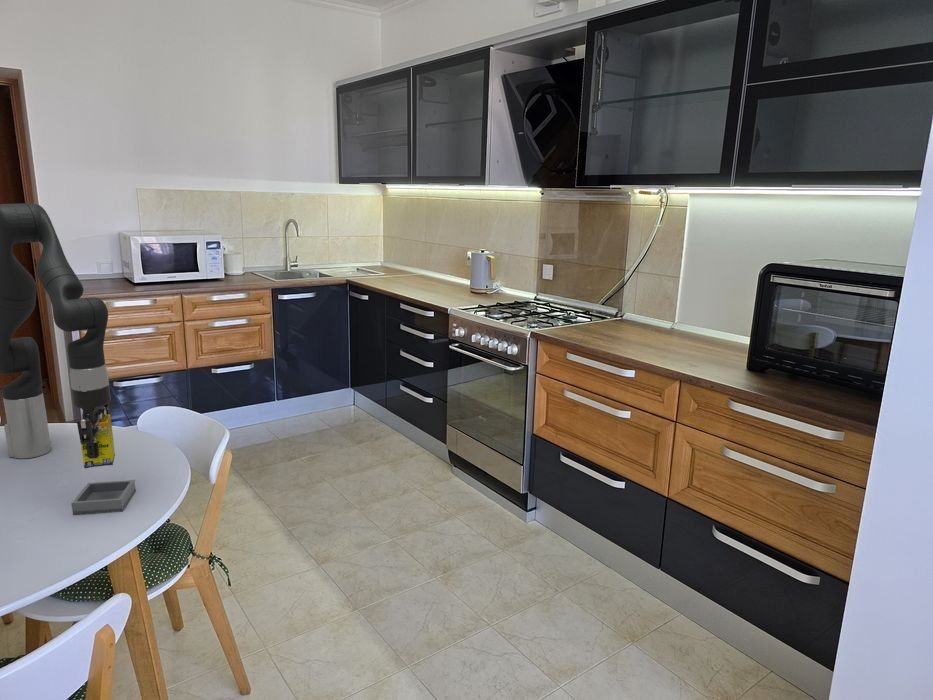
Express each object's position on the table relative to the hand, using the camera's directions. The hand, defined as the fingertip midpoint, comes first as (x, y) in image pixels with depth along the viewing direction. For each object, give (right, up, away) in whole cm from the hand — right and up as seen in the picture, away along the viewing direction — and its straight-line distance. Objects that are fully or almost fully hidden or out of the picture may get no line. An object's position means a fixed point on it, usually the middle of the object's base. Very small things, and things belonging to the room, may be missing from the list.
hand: (98, 451), depth 150 cm
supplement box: (0, -3, +1) cm, 3 cm away
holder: (0, -13, +3) cm, 13 cm away
